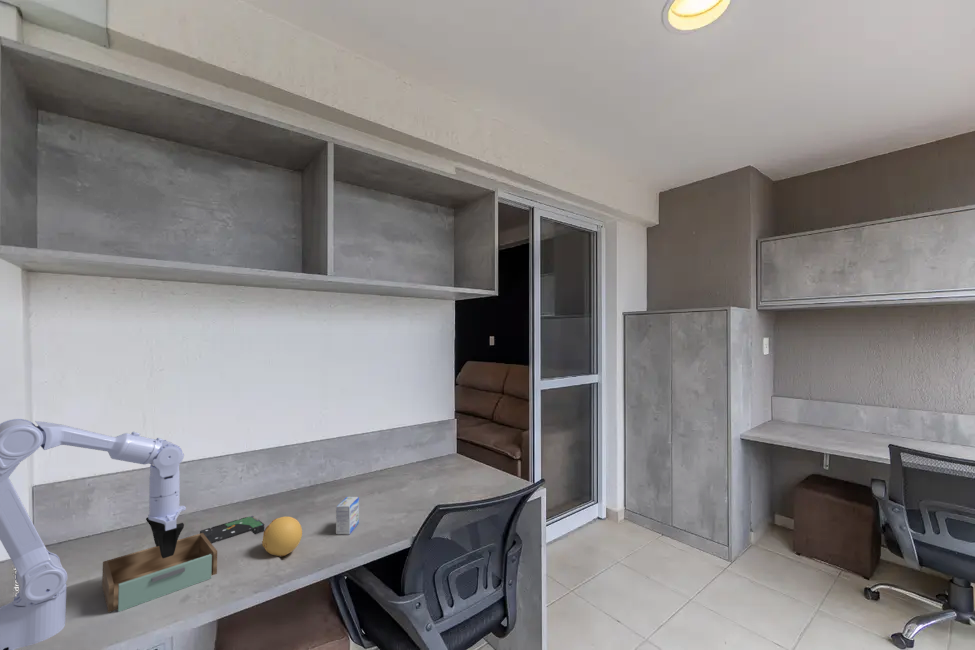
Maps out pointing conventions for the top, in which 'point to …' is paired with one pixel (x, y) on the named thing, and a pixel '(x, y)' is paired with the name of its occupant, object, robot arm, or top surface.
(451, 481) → the top surface
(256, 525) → the disk drive
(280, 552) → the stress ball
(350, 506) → the medicine box
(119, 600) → the green flat rectangular panel
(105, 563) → the wooden drawer
